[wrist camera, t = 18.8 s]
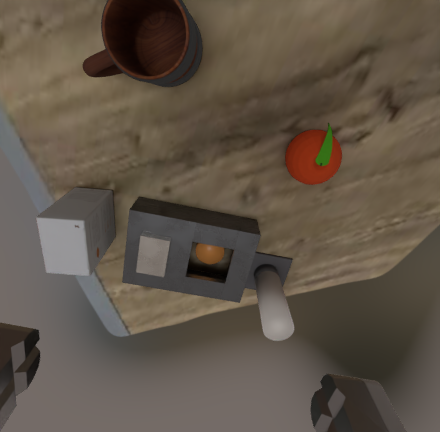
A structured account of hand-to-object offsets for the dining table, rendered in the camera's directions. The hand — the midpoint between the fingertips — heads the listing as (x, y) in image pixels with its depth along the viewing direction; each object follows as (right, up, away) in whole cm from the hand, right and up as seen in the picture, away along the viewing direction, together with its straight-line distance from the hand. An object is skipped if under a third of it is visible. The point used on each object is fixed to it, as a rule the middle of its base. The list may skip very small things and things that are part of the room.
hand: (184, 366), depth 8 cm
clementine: (+13, +14, +33) cm, 38 cm away
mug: (-7, +24, +28) cm, 38 cm away
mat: (+9, -5, +41) cm, 42 cm away
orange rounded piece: (-1, -1, +38) cm, 38 cm away
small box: (-18, +5, +36) cm, 41 cm away
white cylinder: (+9, -5, +40) cm, 42 cm away
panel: (-3, 0, +38) cm, 39 cm away
